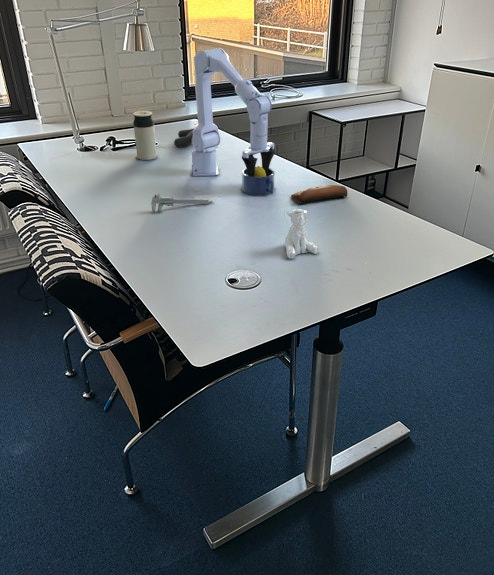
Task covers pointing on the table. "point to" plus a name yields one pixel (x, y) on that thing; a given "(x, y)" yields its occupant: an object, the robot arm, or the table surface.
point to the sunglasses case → (319, 193)
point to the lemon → (259, 172)
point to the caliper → (174, 202)
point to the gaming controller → (184, 138)
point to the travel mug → (144, 135)
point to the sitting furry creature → (298, 235)
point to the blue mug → (258, 183)
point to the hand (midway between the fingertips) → (258, 173)
